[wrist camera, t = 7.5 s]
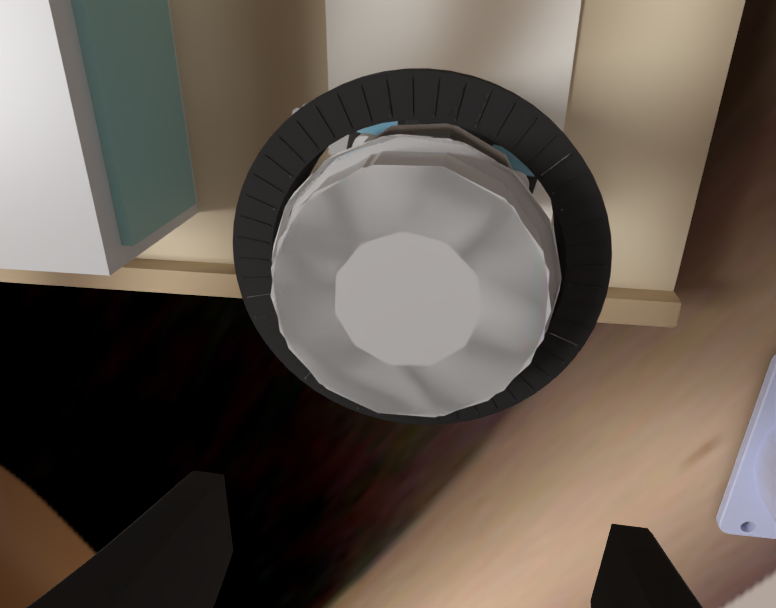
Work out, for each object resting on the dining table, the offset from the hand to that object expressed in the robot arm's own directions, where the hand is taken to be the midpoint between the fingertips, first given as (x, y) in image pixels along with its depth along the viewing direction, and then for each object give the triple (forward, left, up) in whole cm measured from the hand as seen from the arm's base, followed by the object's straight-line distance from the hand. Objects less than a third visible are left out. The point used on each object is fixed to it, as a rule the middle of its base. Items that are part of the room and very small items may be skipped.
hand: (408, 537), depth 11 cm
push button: (+1, -6, -9) cm, 11 cm away
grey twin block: (+10, -7, -9) cm, 15 cm away
